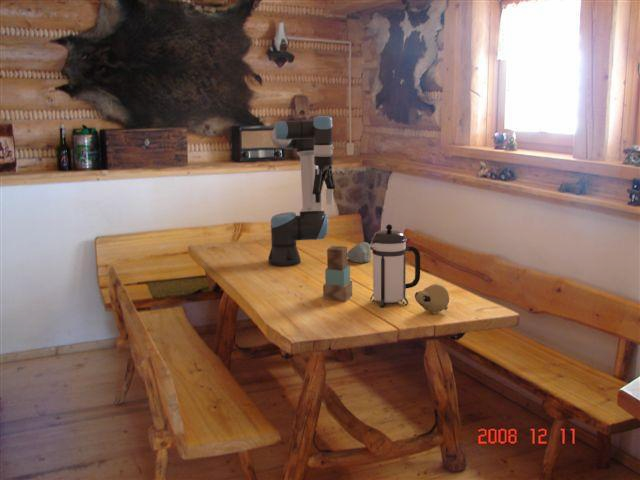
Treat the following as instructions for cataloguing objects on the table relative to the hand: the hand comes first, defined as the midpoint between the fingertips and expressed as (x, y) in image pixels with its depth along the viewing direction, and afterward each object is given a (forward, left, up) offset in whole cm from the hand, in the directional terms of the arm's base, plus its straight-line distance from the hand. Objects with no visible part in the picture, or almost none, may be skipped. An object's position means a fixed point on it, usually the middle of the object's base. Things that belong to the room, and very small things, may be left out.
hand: (324, 207), depth 281 cm
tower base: (+11, -18, -32) cm, 39 cm away
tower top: (+11, -17, -26) cm, 33 cm away
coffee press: (+33, -17, -32) cm, 49 cm away
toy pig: (+50, -26, -32) cm, 65 cm away
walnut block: (+11, -18, -20) cm, 30 cm away
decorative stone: (+3, +42, -32) cm, 53 cm away
